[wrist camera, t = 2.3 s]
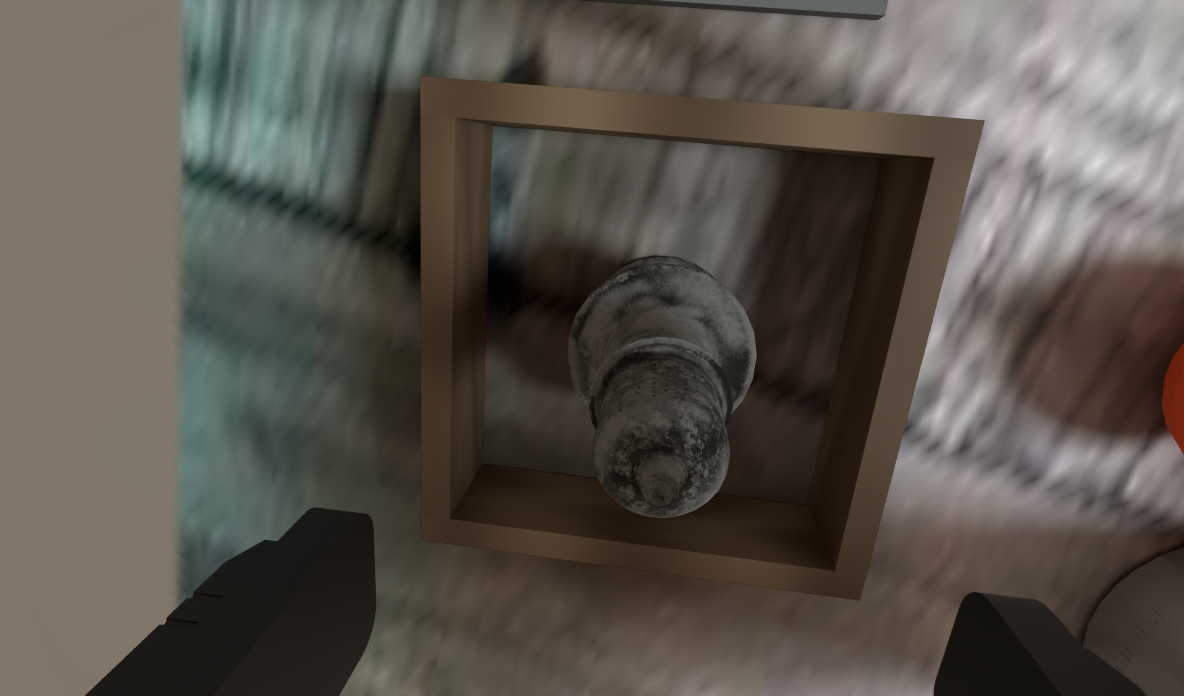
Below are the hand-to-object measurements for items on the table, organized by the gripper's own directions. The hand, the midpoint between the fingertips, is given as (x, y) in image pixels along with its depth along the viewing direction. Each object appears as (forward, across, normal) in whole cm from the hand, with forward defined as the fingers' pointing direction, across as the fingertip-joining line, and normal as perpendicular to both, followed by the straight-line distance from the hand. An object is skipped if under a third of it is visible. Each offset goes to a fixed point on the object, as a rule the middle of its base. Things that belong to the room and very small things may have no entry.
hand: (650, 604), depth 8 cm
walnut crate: (+15, 0, 0) cm, 15 cm away
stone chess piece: (+15, 0, 0) cm, 15 cm away
